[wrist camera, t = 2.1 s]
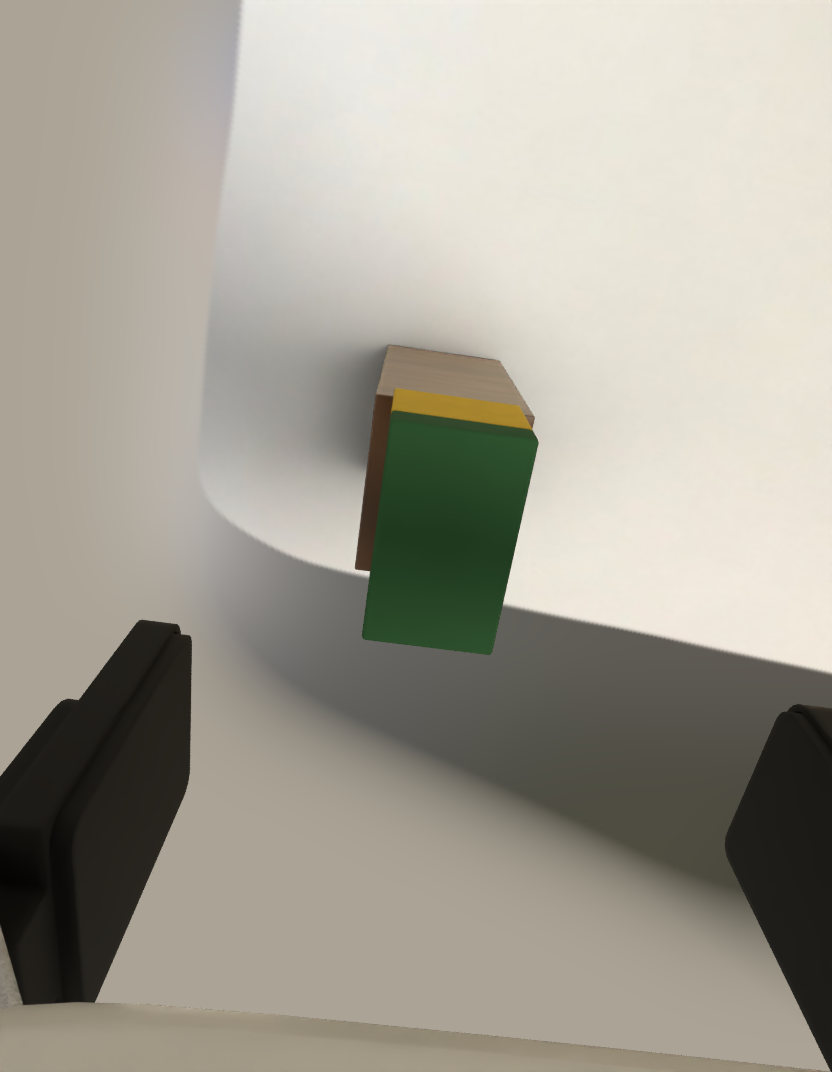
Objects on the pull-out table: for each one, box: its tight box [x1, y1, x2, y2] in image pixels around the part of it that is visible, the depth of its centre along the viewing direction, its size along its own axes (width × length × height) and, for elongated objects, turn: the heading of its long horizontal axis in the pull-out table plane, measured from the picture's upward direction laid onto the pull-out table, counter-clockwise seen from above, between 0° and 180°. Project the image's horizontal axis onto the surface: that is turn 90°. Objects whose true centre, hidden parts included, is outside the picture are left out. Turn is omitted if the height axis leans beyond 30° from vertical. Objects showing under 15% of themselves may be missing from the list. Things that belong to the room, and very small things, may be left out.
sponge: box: [362, 388, 538, 655], centre depth 19 cm, size 6×4×4 cm, turn 172°
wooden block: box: [355, 345, 535, 571], centre depth 24 cm, size 6×4×9 cm
